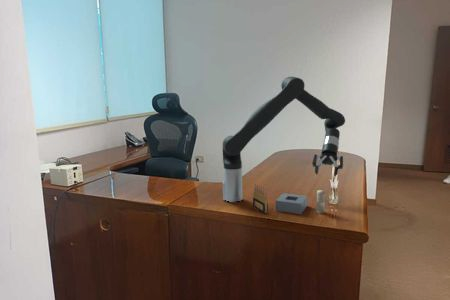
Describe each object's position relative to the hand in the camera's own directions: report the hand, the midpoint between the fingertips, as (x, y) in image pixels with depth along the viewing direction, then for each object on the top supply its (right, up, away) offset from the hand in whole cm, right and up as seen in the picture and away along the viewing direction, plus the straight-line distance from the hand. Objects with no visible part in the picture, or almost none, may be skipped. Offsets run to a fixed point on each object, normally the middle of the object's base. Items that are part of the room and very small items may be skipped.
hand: (325, 174), depth 165 cm
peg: (-5, -17, -7) cm, 19 cm away
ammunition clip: (-32, -17, -3) cm, 36 cm away
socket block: (-17, -16, -2) cm, 23 cm away
